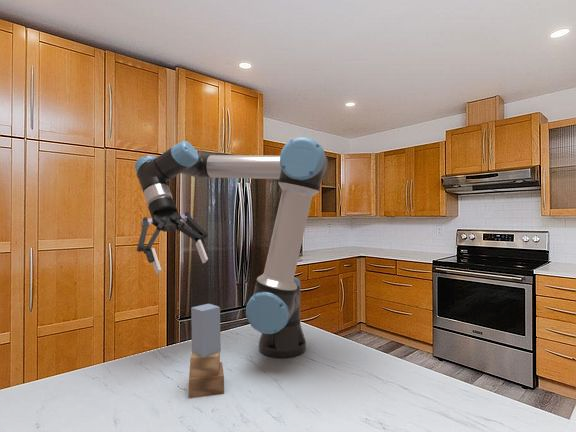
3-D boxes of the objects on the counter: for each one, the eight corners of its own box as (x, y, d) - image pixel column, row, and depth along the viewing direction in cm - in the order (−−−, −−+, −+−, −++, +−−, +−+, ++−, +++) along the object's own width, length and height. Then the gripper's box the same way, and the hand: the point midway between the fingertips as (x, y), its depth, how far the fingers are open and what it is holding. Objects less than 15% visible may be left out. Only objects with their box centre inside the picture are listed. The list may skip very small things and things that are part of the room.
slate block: (209, 346, 87) (208, 303, 87) (220, 351, 83) (219, 306, 83) (191, 352, 83) (191, 307, 83) (202, 357, 80) (202, 311, 80)
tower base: (221, 379, 88) (221, 362, 88) (223, 394, 80) (223, 375, 80) (190, 383, 86) (190, 365, 86) (188, 399, 78) (188, 379, 78)
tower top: (219, 363, 87) (219, 346, 87) (218, 375, 80) (218, 356, 80) (193, 365, 86) (193, 347, 86) (190, 377, 79) (190, 358, 79)
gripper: (195, 205, 111) (217, 262, 104) (113, 214, 95) (133, 282, 88) (203, 192, 106) (227, 251, 99) (117, 199, 90) (139, 271, 83)
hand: (183, 266), depth 94 cm, fingers open, 13 cm apart
